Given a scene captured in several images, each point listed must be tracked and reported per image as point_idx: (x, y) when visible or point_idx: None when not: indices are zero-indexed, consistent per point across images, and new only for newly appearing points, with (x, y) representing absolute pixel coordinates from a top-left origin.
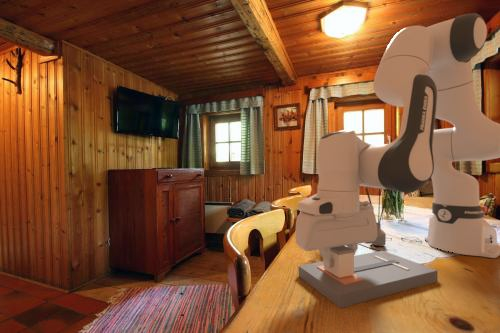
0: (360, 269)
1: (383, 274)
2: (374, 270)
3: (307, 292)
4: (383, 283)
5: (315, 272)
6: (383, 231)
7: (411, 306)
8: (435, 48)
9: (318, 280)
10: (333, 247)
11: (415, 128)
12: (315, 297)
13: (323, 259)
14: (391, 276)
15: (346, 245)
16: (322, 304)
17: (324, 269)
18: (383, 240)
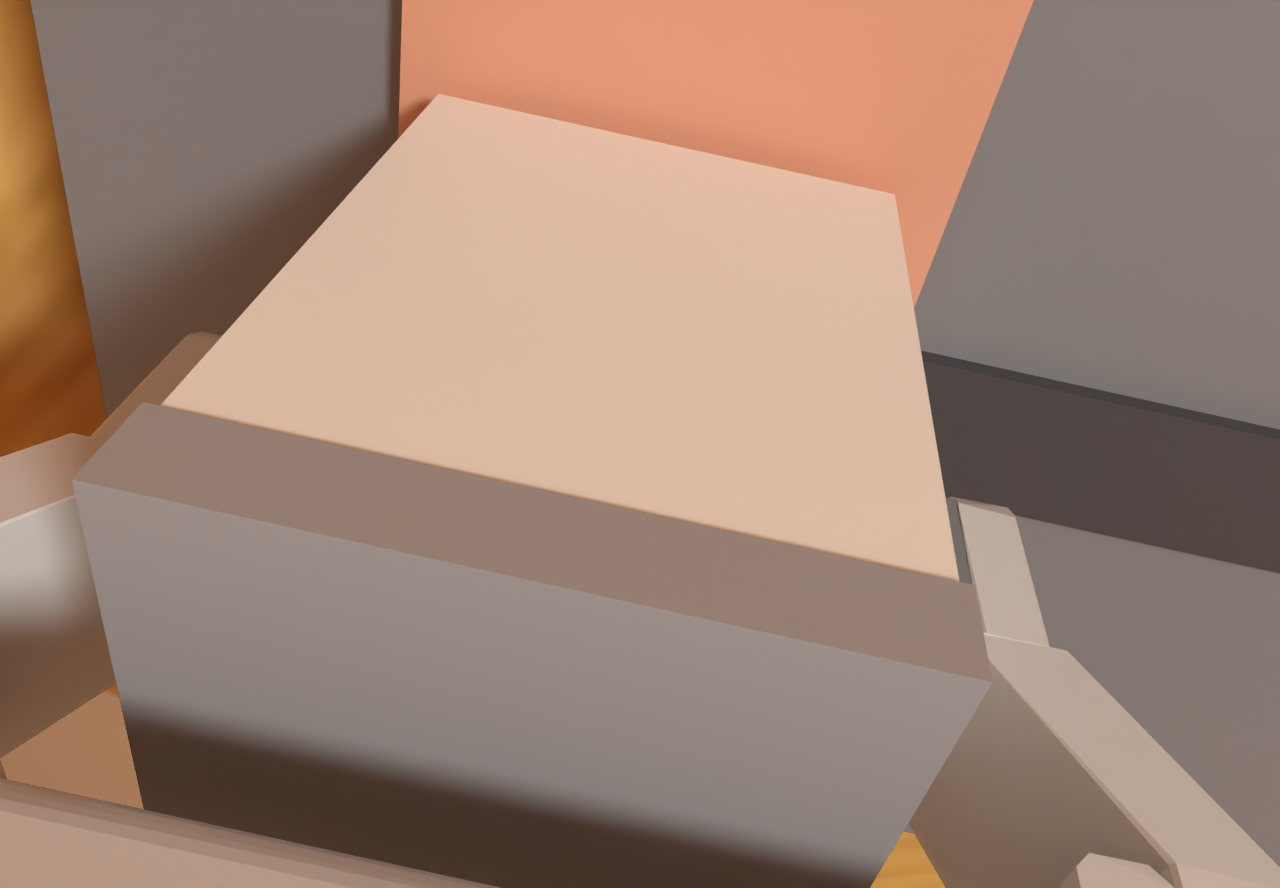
0: (1165, 521)
1: (1258, 761)
2: None
3: (8, 105)
4: (909, 825)
5: (202, 21)
6: None
7: (902, 856)
8: None
9: (93, 281)
10: (296, 824)
11: None
12: (68, 268)
13: (117, 416)
14: (1257, 831)
15: (1061, 884)
16: (79, 410)
17: (465, 89)
18: None
